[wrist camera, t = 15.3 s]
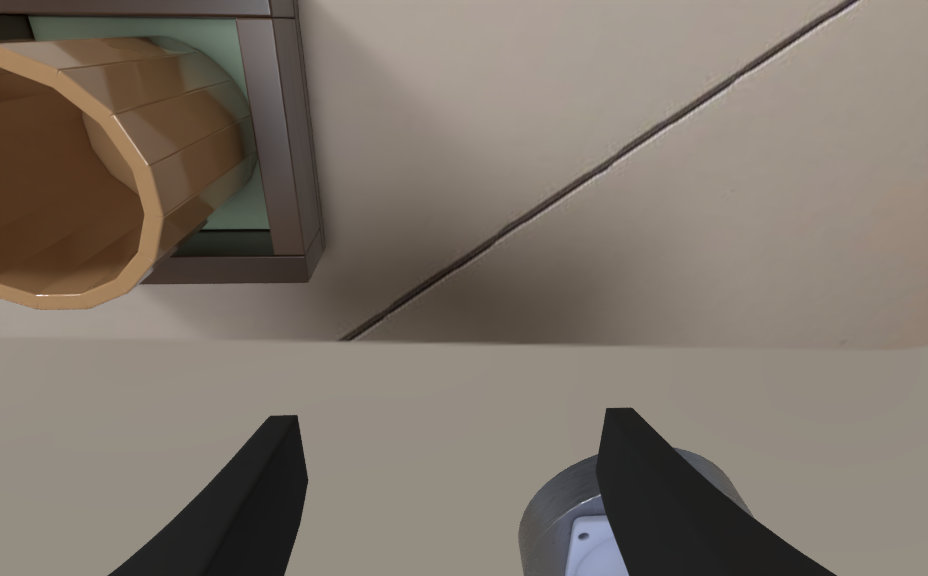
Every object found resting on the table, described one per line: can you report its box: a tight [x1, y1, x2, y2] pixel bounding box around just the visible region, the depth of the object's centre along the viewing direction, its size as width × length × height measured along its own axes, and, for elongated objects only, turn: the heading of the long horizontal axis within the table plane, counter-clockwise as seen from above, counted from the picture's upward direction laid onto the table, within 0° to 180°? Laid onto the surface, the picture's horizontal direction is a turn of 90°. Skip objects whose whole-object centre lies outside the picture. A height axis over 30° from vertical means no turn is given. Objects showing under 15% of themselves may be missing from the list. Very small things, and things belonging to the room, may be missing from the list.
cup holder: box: [0, 0, 325, 284], centre depth 16 cm, size 9×9×3 cm
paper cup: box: [0, 35, 258, 310], centre depth 14 cm, size 6×6×7 cm
